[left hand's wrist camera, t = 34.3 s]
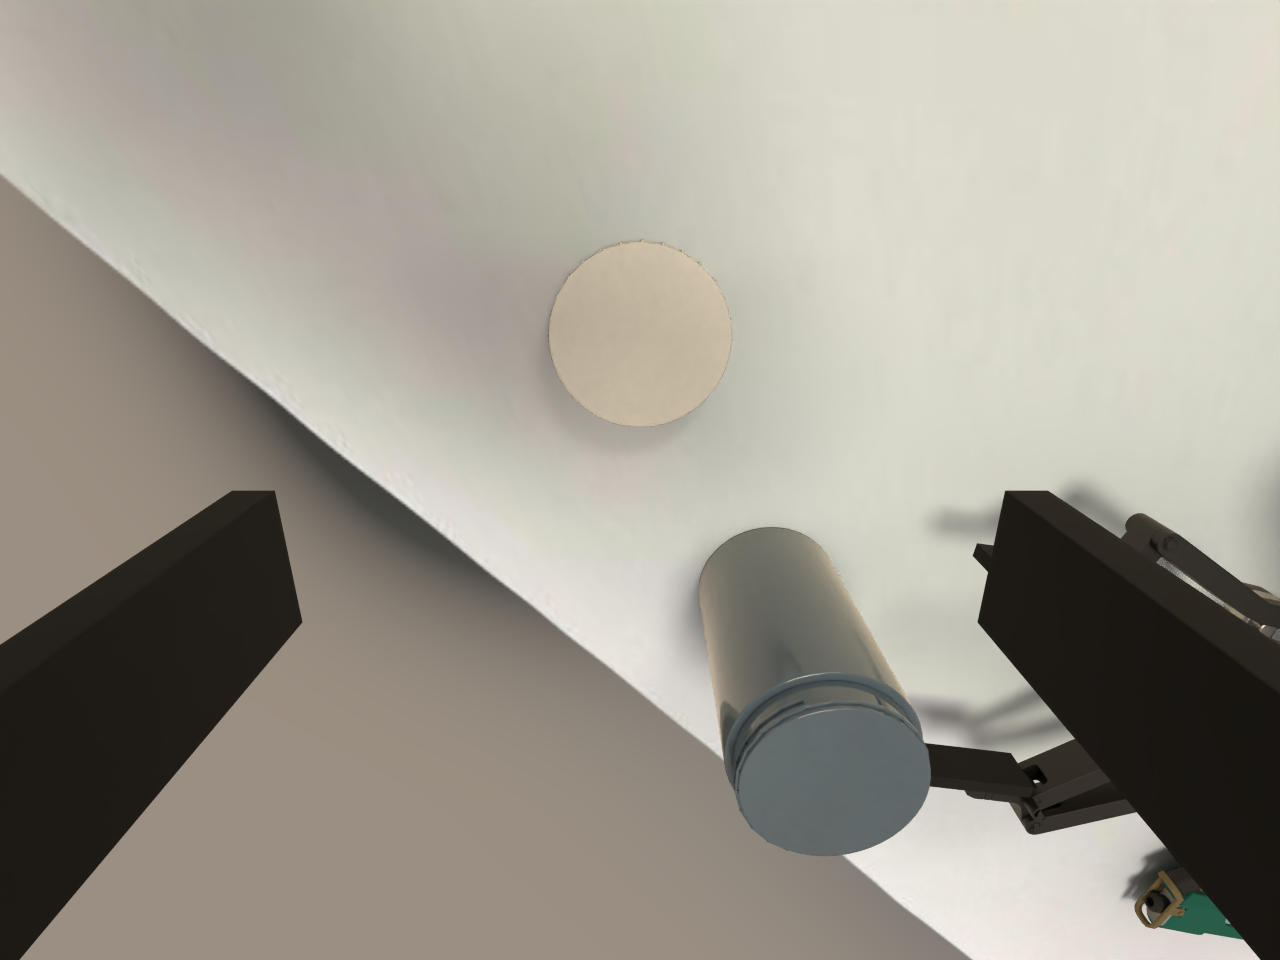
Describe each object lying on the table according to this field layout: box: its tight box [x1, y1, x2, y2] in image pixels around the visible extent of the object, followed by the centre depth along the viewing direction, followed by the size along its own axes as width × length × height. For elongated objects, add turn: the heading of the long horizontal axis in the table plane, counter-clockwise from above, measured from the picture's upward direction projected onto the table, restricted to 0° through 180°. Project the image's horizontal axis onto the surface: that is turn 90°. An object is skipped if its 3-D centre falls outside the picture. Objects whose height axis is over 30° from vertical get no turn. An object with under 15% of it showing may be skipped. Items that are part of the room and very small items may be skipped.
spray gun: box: [1135, 867, 1244, 940], centre depth 50 cm, size 4×17×15 cm
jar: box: [698, 528, 931, 856], centre depth 36 cm, size 9×9×16 cm
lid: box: [548, 240, 732, 427], centre depth 36 cm, size 10×10×2 cm
